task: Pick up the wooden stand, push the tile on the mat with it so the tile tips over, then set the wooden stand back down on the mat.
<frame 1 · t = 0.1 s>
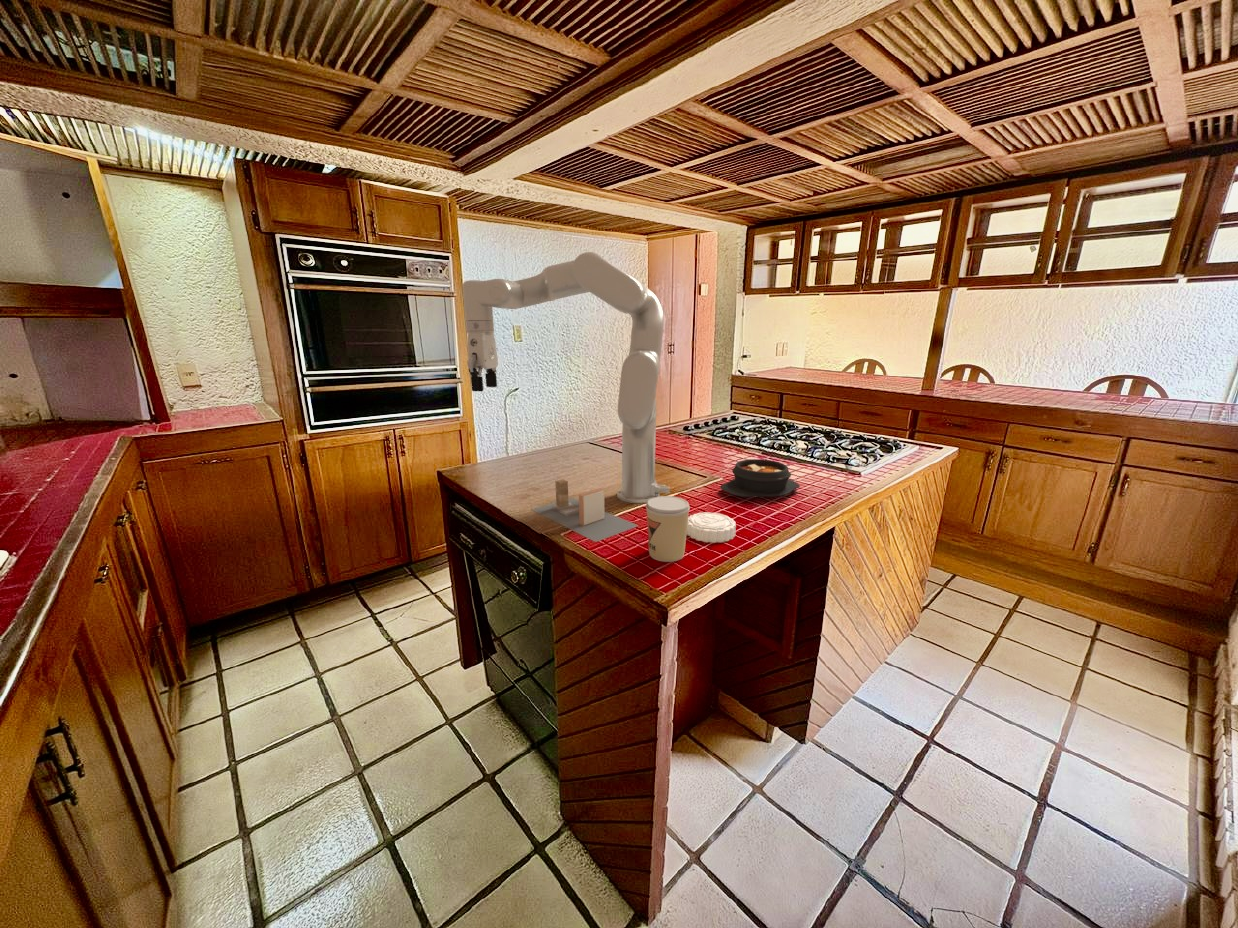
hand: (484, 389, 139), 31 cm above the counter, tool pointing down, fingers open, 9 cm apart
mat: (582, 518, 126), on the counter
mooncake: (710, 533, 117), on the counter
tile: (592, 521, 123), resting on mat
wooden stand: (562, 507, 132), resting on mat
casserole: (759, 492, 145), on the counter
coffee cup: (666, 554, 106), on the counter
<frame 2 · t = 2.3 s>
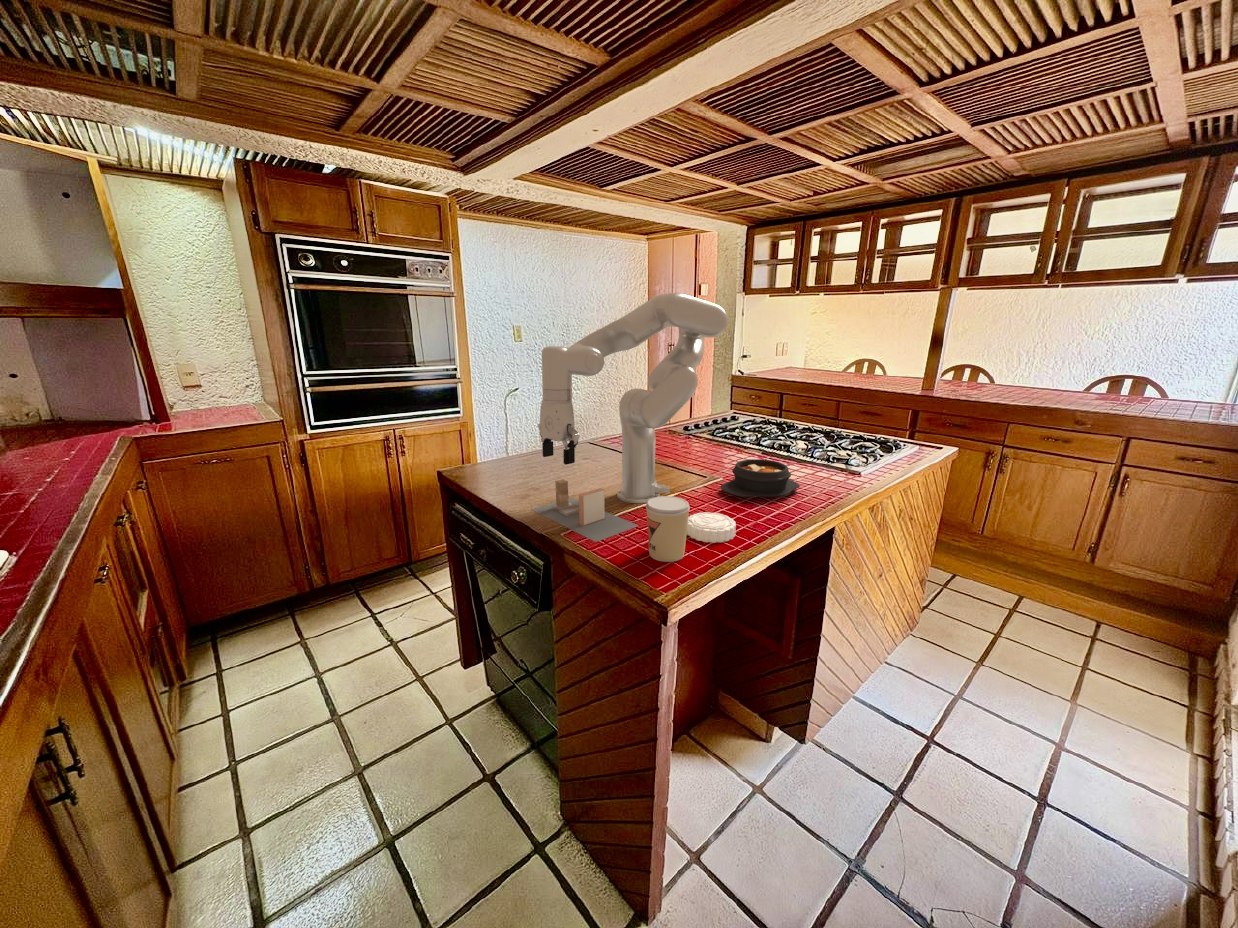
hand: (558, 459, 128), 14 cm above the counter, tool pointing down, fingers open, 9 cm apart
nothing on the counter moved.
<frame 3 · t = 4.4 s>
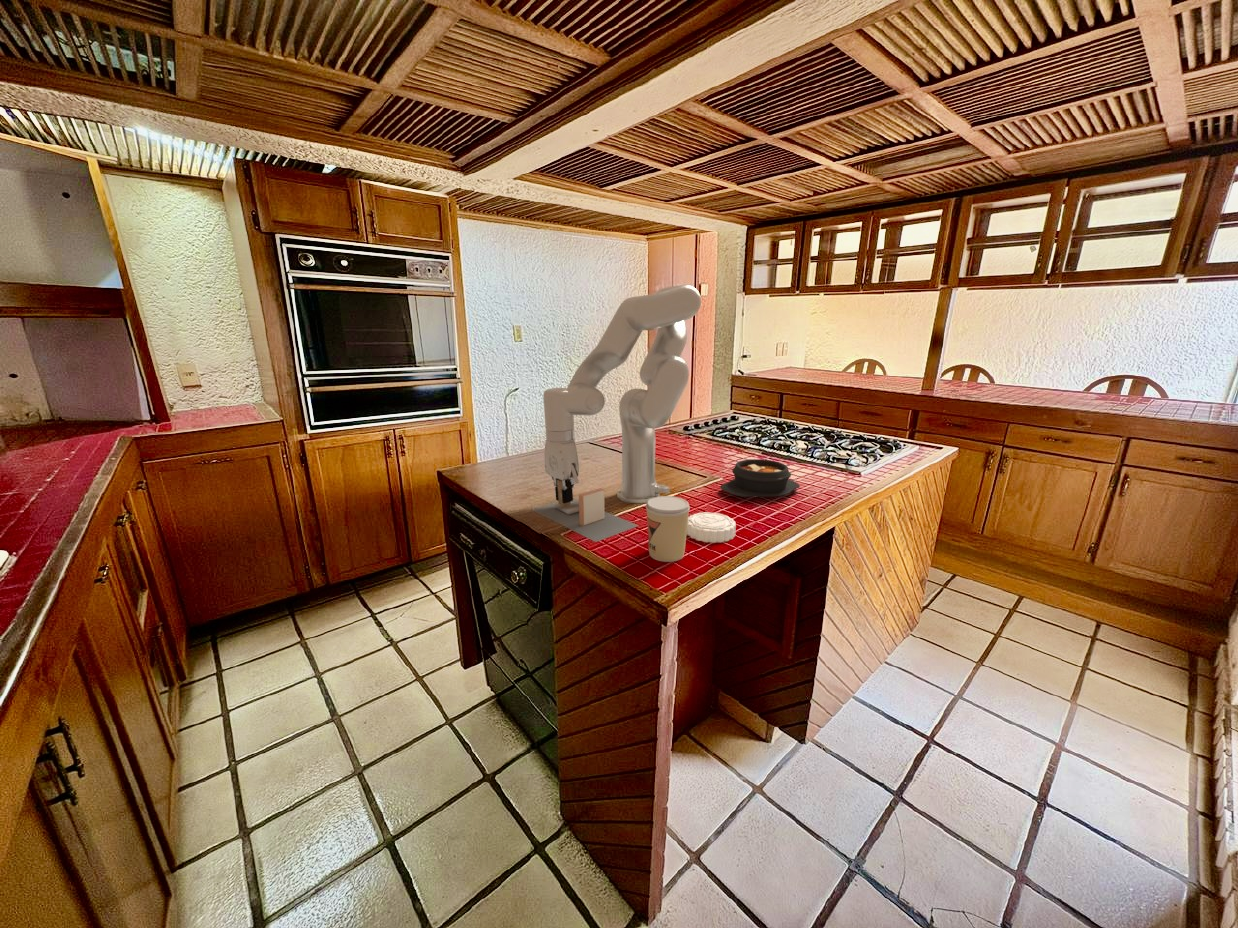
hand: (564, 500, 132), 3 cm above the counter, tool pointing down, fingers closed on wooden stand
wooden stand: (564, 506, 132), point 1 cm above the counter, touching gripper
everything else where it was.
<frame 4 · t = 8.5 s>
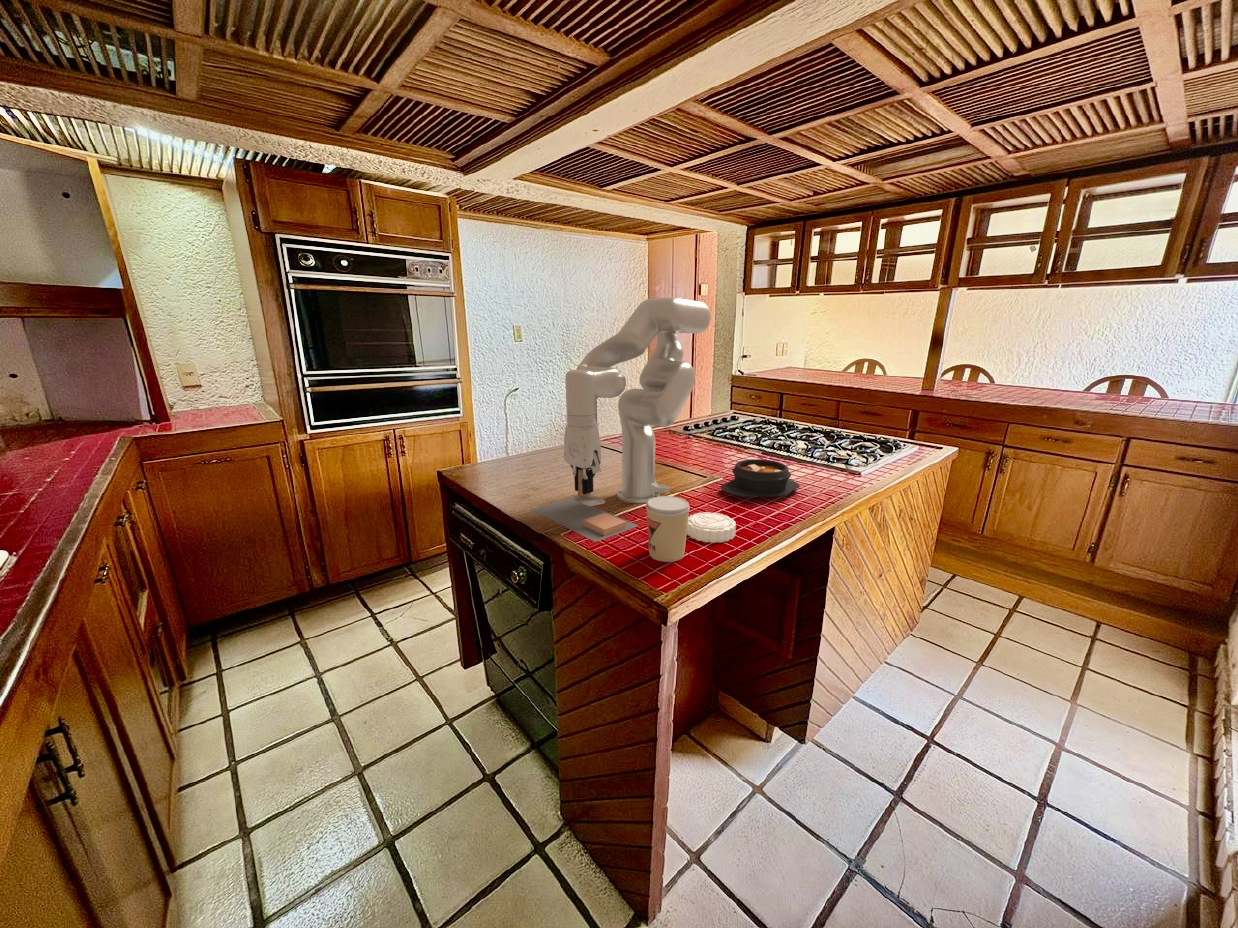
hand: (584, 490, 123), 8 cm above the counter, tool pointing down, fingers closed on wooden stand, 2 cm apart
tile: (594, 519, 122), point 1 cm above the counter, tilted 90°, touching mat
wooden stand: (583, 499, 124), point 6 cm above the counter, touching gripper
everything else where it was.
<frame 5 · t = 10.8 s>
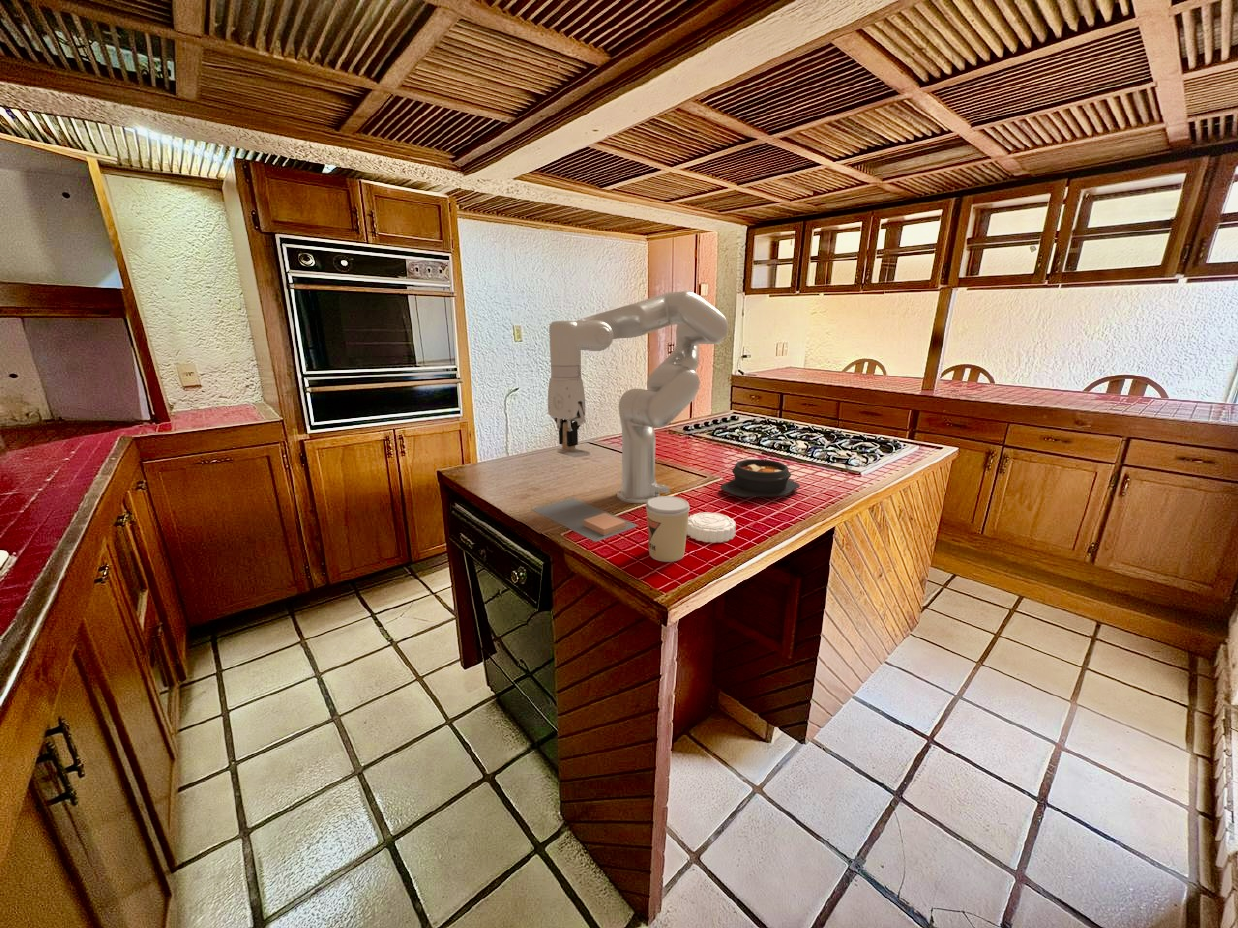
hand: (568, 444, 124), 19 cm above the counter, tool pointing down, fingers closed on wooden stand, 2 cm apart
wooden stand: (568, 452, 124), point 17 cm above the counter, touching gripper
everything else where it was.
when the fingers open (4 cm above the counter, at t = 13.1 s): wooden stand drops 1 cm, resting on mat.
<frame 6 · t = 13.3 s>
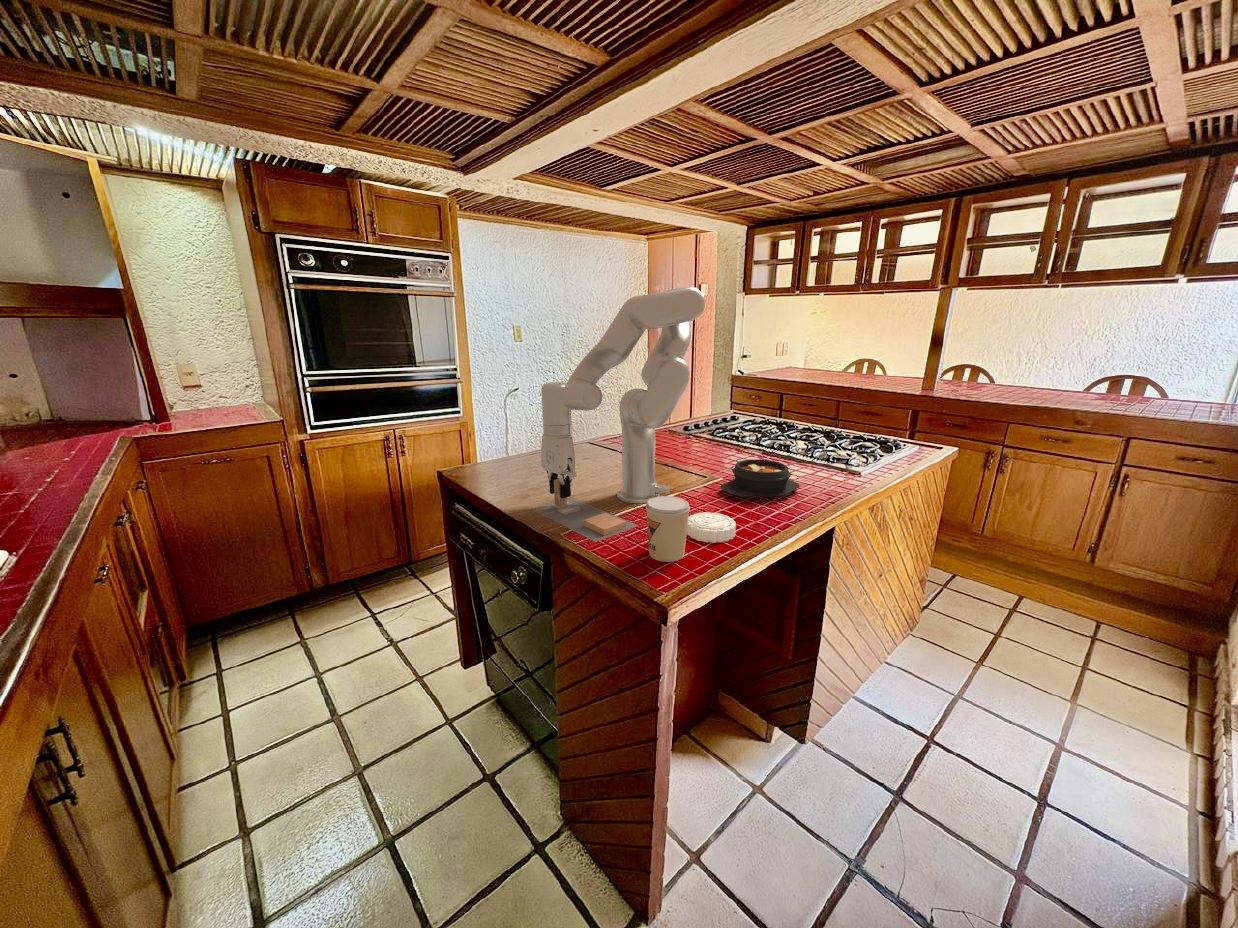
hand: (560, 494, 132), 4 cm above the counter, tool pointing down, fingers open, 4 cm apart
wooden stand: (561, 506, 133), resting on mat
everything else where it was.
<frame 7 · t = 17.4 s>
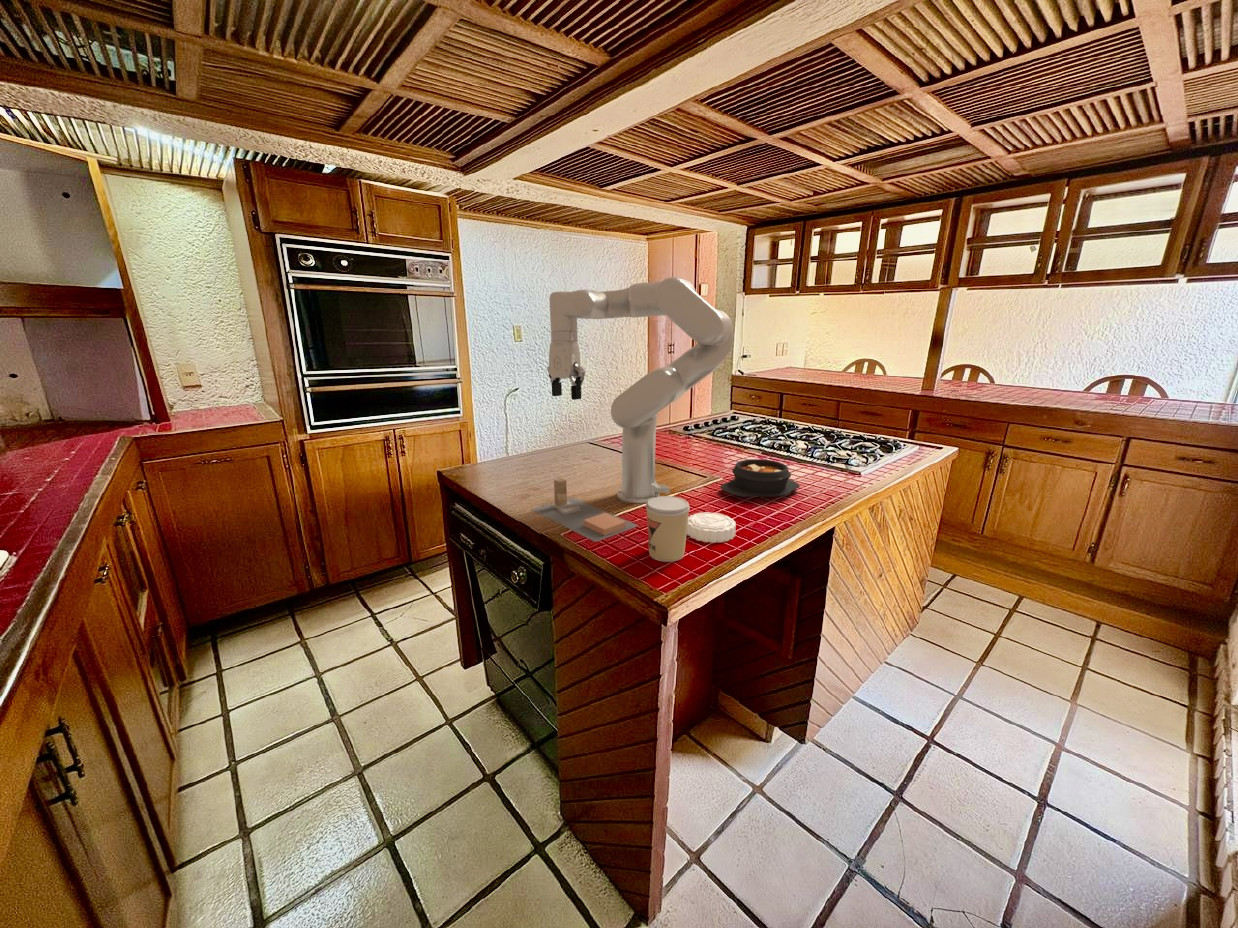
hand: (566, 397, 141), 28 cm above the counter, tool pointing down, fingers open, 9 cm apart
nothing on the counter moved.
at the end: tile tilted 90°; tile 4.9 cm from the mat (horizontally); wooden stand inside the target area (0.2 cm from its centre), resting on mat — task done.
